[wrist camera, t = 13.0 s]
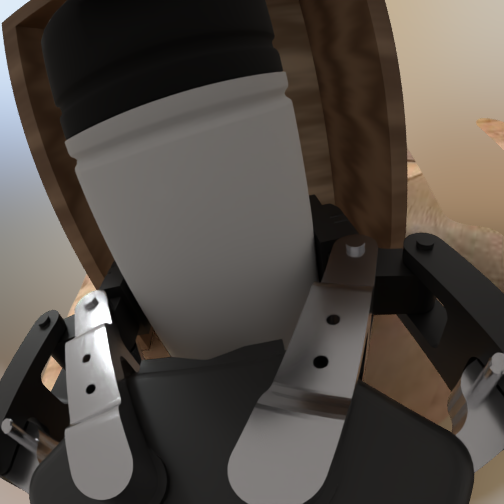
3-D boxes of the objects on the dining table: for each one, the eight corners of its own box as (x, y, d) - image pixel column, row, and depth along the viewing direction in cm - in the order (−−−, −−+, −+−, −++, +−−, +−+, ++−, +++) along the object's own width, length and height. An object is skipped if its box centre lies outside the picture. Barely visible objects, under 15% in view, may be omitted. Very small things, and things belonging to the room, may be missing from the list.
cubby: (398, 298, 22) (354, -82, 7) (137, 350, 23) (1, 23, 8) (342, 215, 35) (301, -19, 19) (164, 255, 36) (92, 36, 21)
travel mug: (232, 471, 13) (-20, 34, 2) (221, 382, 18) (86, 53, 8) (343, 444, 13) (288, -80, 2) (311, 359, 19) (242, 3, 8)
